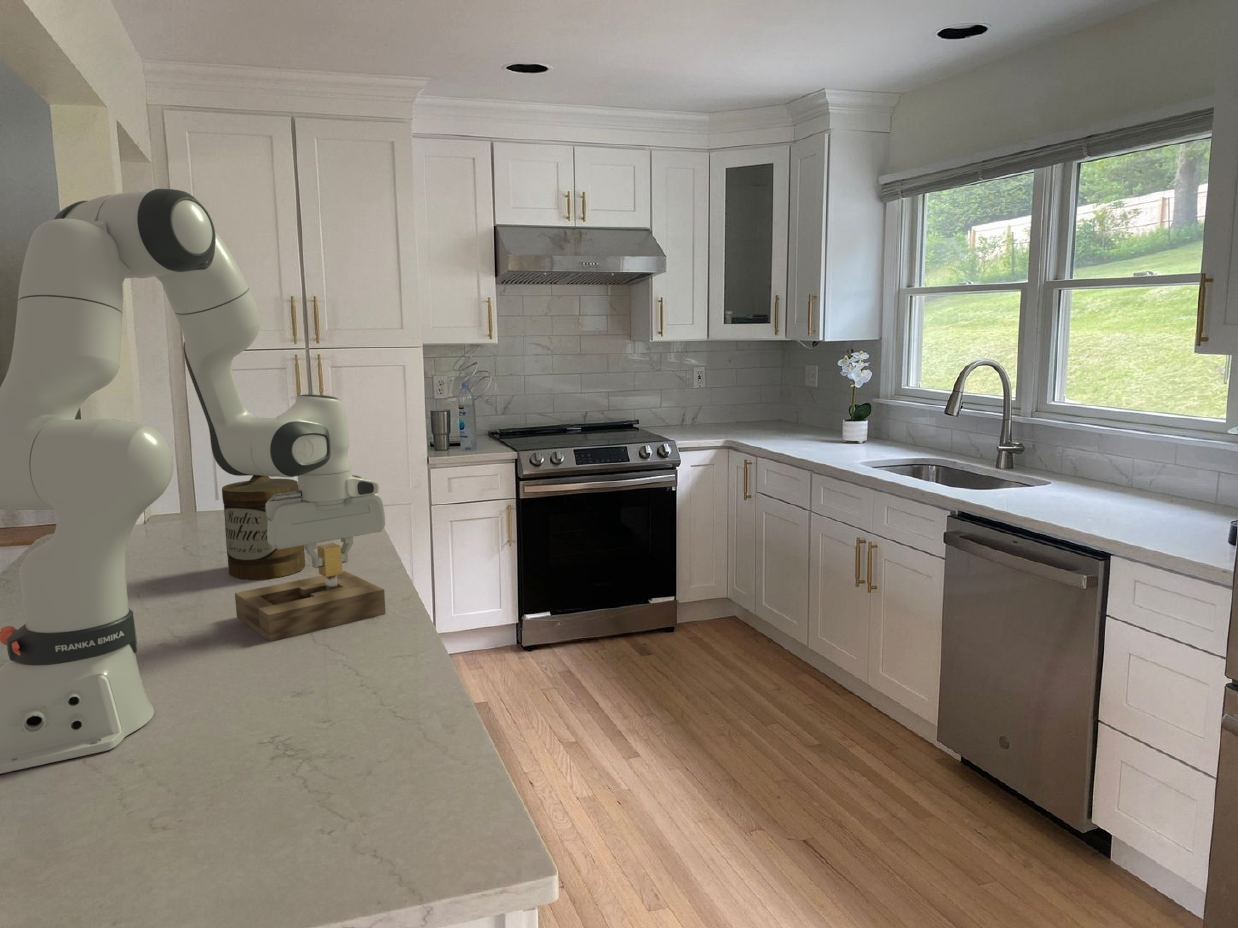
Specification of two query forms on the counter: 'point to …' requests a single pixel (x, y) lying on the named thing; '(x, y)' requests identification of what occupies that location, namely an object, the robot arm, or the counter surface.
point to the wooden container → (256, 530)
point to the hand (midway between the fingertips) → (330, 564)
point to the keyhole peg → (330, 564)
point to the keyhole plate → (308, 605)
